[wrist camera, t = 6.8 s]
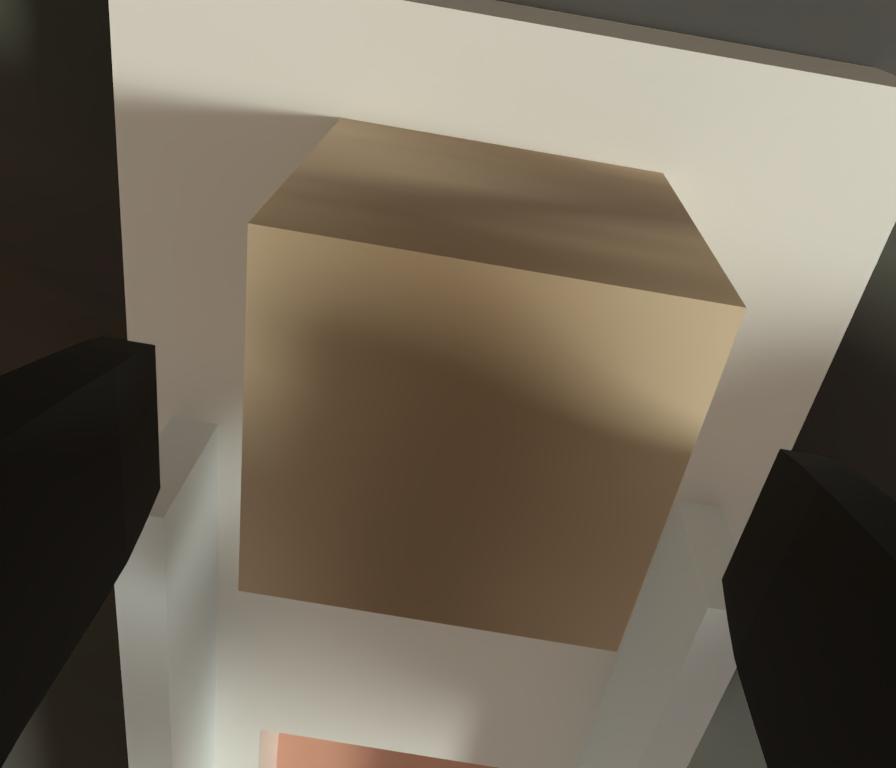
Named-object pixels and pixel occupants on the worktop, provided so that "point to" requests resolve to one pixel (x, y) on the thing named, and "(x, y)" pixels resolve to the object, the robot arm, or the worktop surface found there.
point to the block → (472, 382)
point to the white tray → (503, 123)
